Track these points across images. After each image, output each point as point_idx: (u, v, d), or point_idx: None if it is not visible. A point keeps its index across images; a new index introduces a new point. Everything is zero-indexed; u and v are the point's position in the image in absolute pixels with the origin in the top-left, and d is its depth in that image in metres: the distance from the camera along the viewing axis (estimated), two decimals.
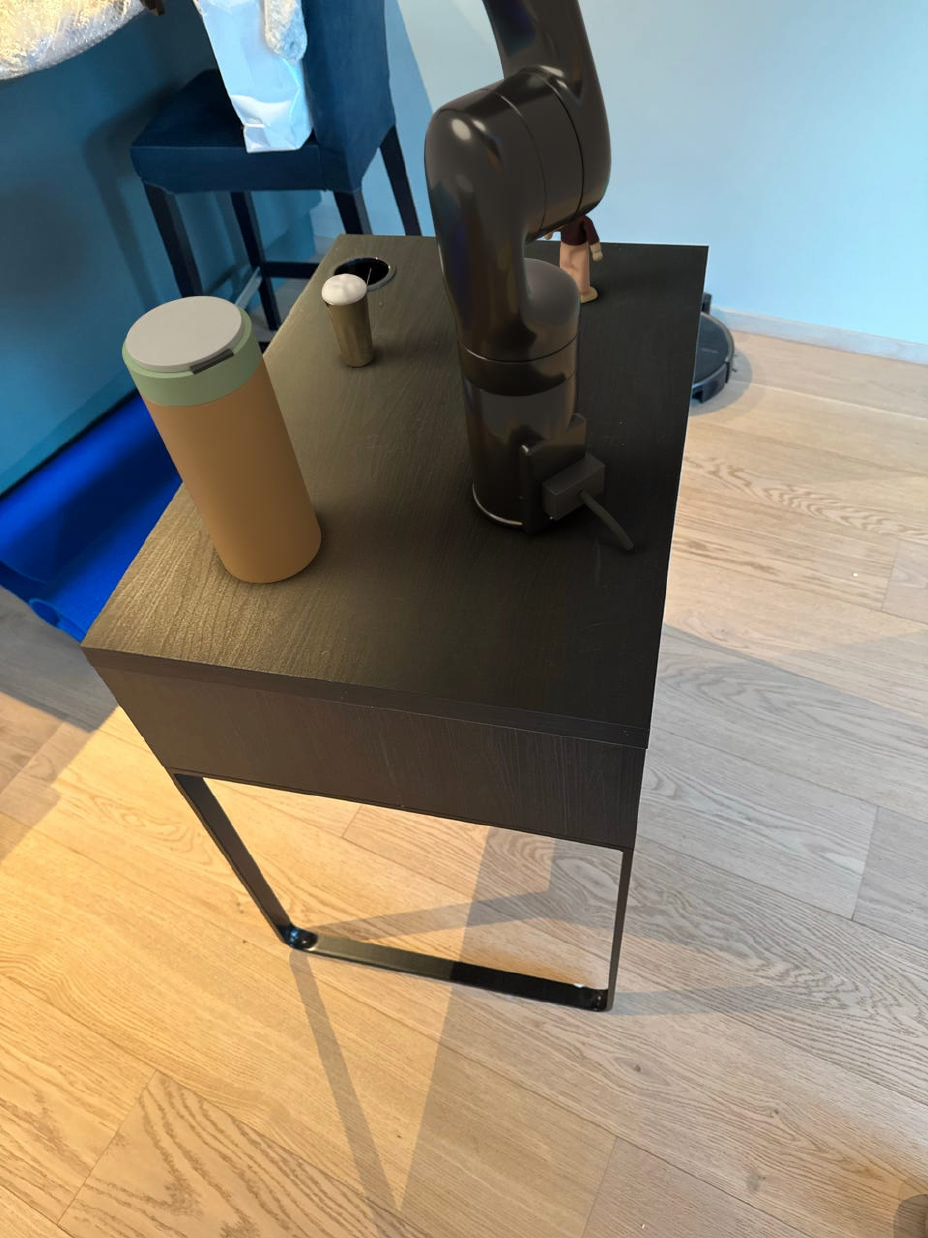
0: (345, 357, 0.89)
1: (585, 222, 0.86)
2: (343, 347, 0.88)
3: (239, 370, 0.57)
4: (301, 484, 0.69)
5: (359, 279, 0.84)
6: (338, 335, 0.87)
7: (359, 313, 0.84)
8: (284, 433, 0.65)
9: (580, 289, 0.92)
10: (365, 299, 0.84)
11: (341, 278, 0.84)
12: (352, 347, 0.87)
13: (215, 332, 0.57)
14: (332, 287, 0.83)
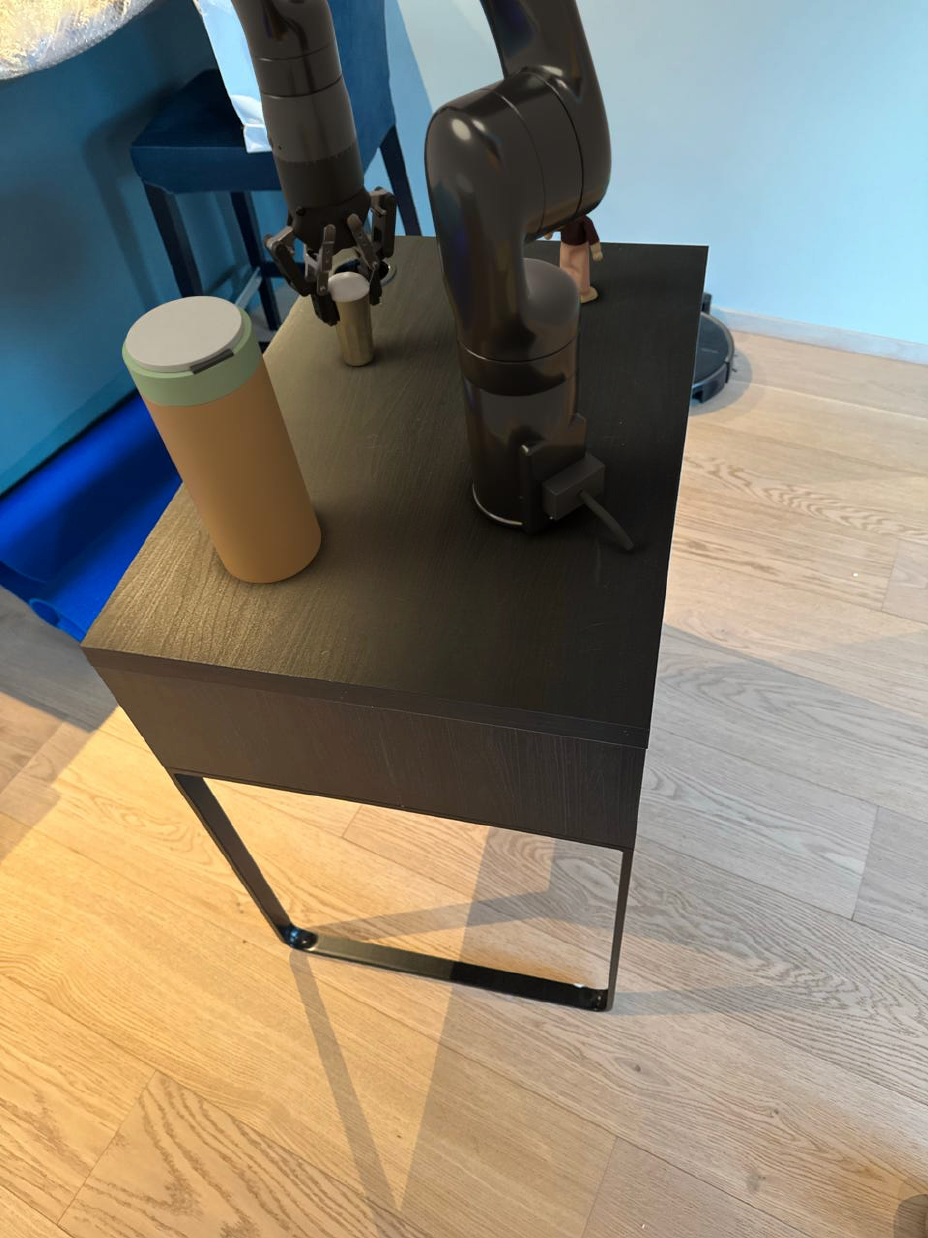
0: (345, 355, 0.89)
1: (585, 222, 0.86)
2: (344, 345, 0.88)
3: (239, 370, 0.57)
4: (301, 484, 0.69)
5: (362, 277, 0.84)
6: (339, 333, 0.87)
7: (361, 311, 0.84)
8: (284, 433, 0.65)
9: (580, 289, 0.92)
10: (368, 297, 0.84)
11: (344, 276, 0.84)
12: (353, 345, 0.87)
13: (215, 332, 0.57)
14: (335, 283, 0.83)
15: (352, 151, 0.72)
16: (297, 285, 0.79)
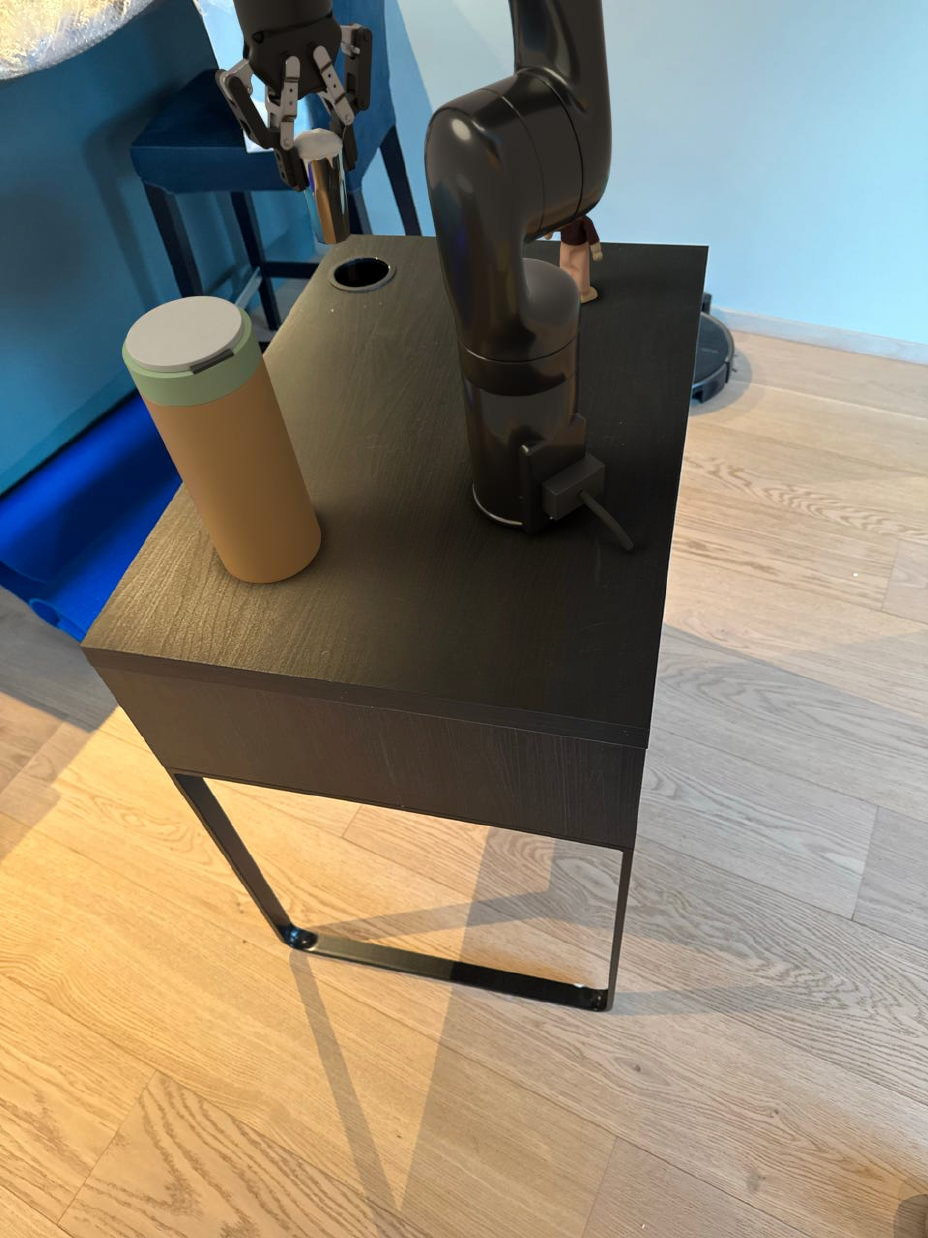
0: (317, 232, 0.78)
1: (585, 222, 0.86)
2: (315, 218, 0.77)
3: (239, 370, 0.57)
4: (301, 484, 0.69)
5: (334, 134, 0.73)
6: (309, 202, 0.76)
7: (333, 173, 0.73)
8: (284, 433, 0.65)
9: (580, 289, 0.92)
10: (340, 157, 0.73)
11: (313, 132, 0.73)
12: (325, 218, 0.76)
13: (215, 332, 0.57)
14: (303, 138, 0.72)
15: None
16: (257, 133, 0.69)
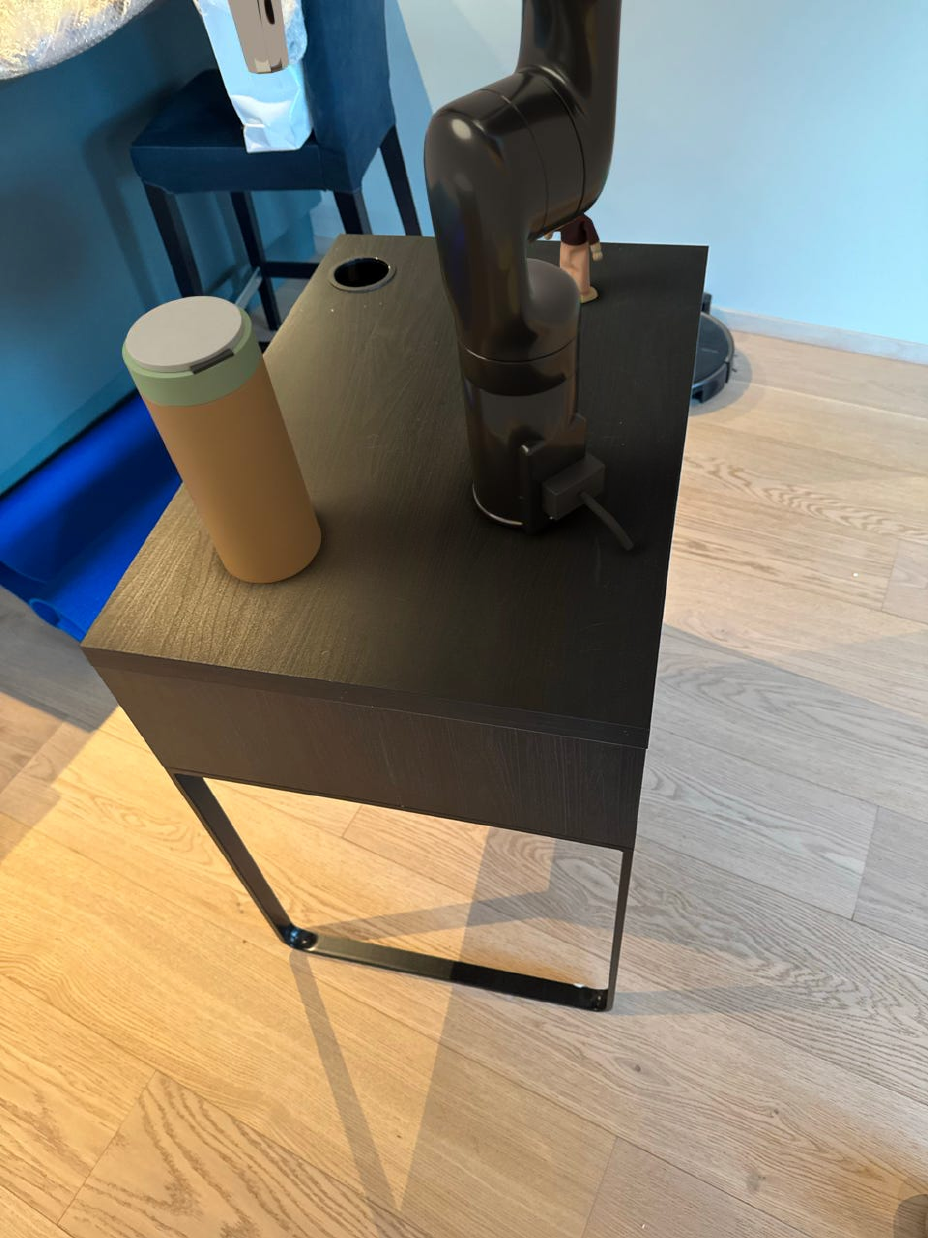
0: (247, 57, 0.62)
1: (585, 222, 0.86)
2: (242, 37, 0.61)
3: (239, 370, 0.57)
4: (301, 484, 0.69)
5: None
6: (234, 14, 0.60)
7: None
8: (284, 433, 0.65)
9: (580, 289, 0.92)
10: None
11: None
12: (255, 34, 0.61)
13: (215, 332, 0.57)
14: None
15: None
16: None
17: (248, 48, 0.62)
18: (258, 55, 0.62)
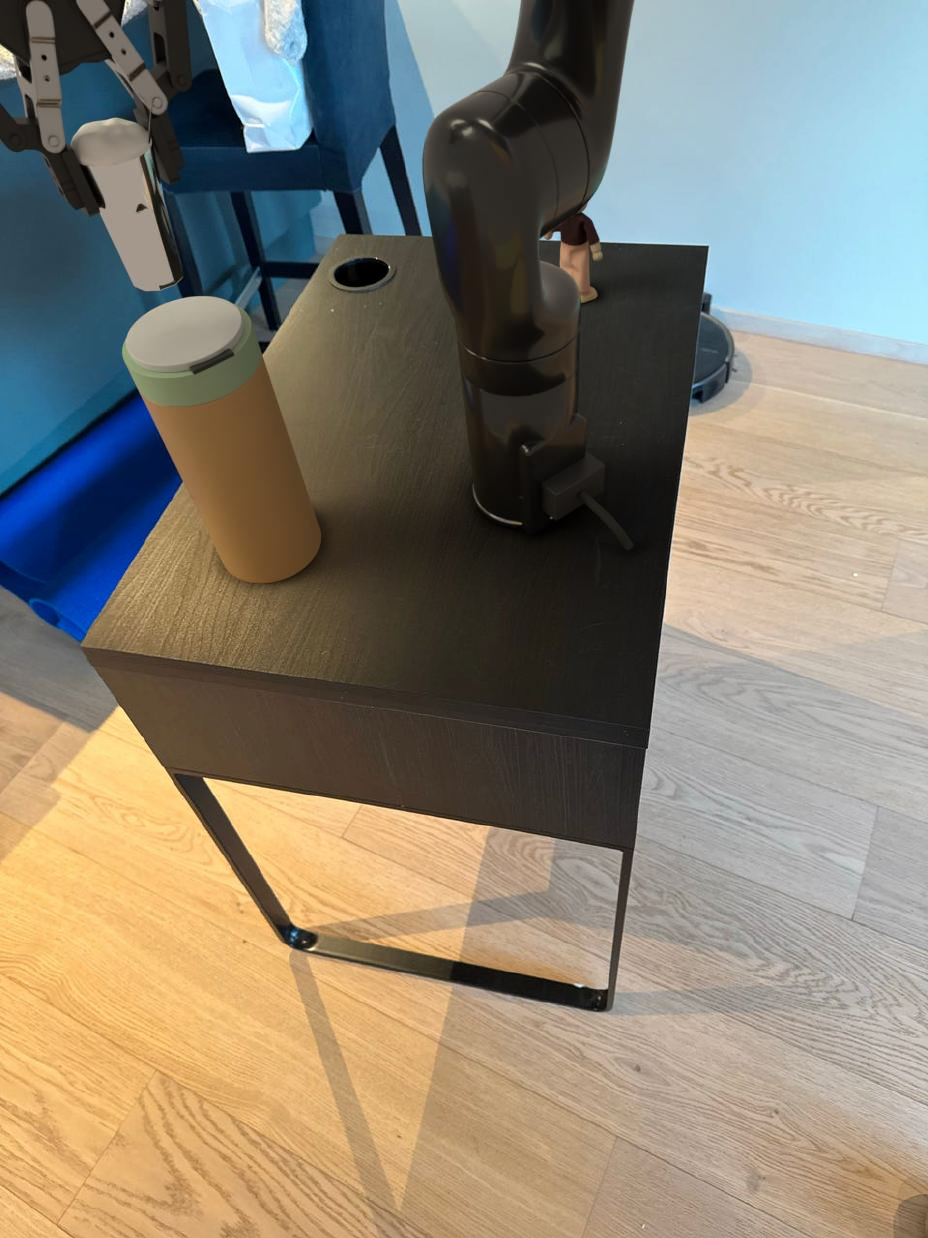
0: (130, 273, 0.52)
1: (585, 222, 0.86)
2: (123, 254, 0.51)
3: (239, 370, 0.57)
4: (301, 484, 0.69)
5: (138, 126, 0.47)
6: (110, 231, 0.50)
7: (137, 186, 0.48)
8: (284, 433, 0.65)
9: (580, 289, 0.92)
10: (148, 162, 0.48)
11: (106, 124, 0.47)
12: (136, 253, 0.51)
13: (215, 332, 0.57)
14: (84, 134, 0.46)
15: None
16: None
17: (130, 265, 0.52)
18: (143, 273, 0.52)
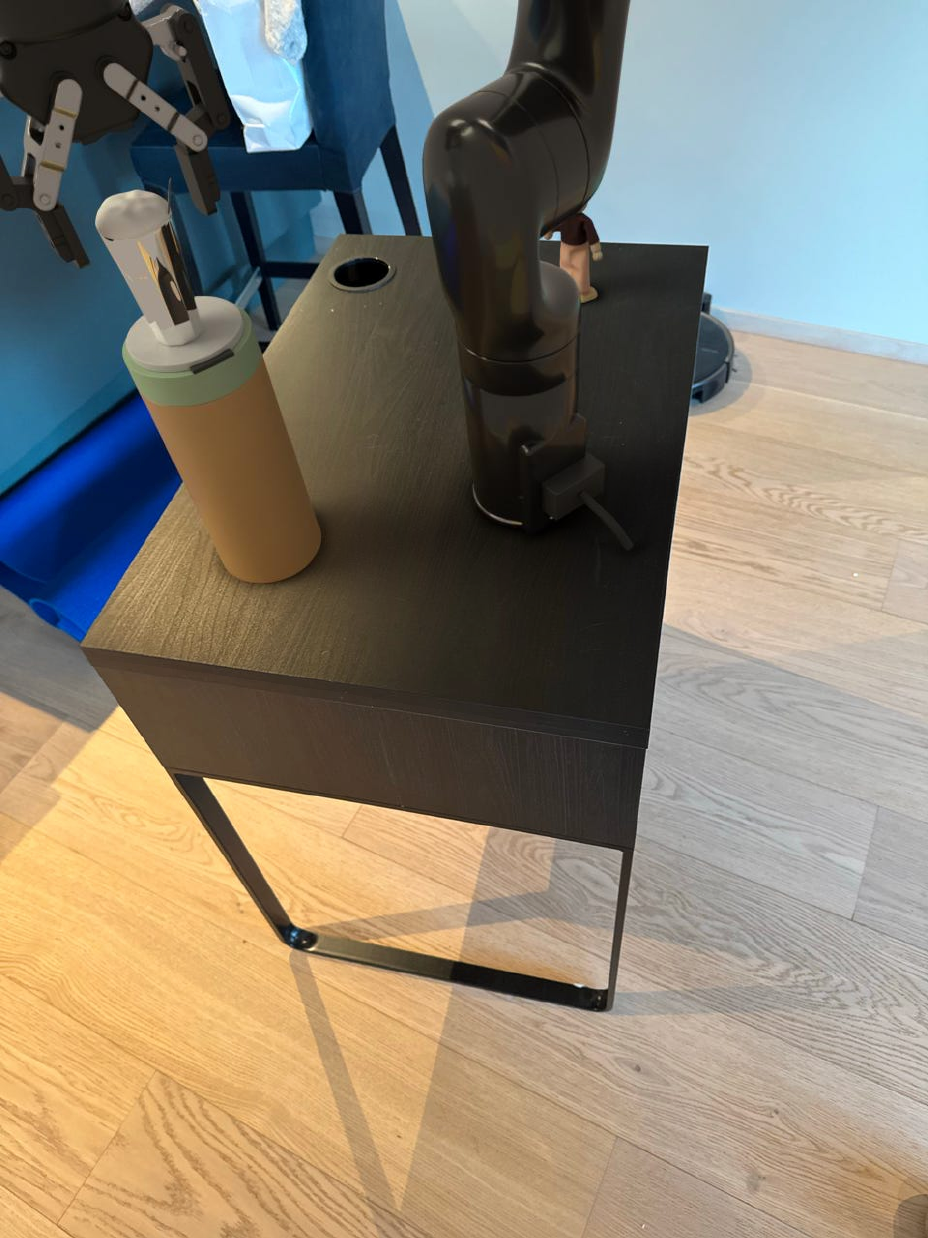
0: (154, 330, 0.56)
1: (585, 222, 0.86)
2: (147, 314, 0.54)
3: (239, 370, 0.57)
4: (301, 484, 0.69)
5: (158, 198, 0.50)
6: (135, 294, 0.53)
7: (159, 255, 0.51)
8: (284, 433, 0.65)
9: (580, 289, 0.92)
10: (169, 232, 0.51)
11: (128, 197, 0.50)
12: (159, 313, 0.54)
13: (215, 332, 0.57)
14: (108, 209, 0.49)
15: None
16: None
17: (154, 324, 0.55)
18: (166, 330, 0.55)
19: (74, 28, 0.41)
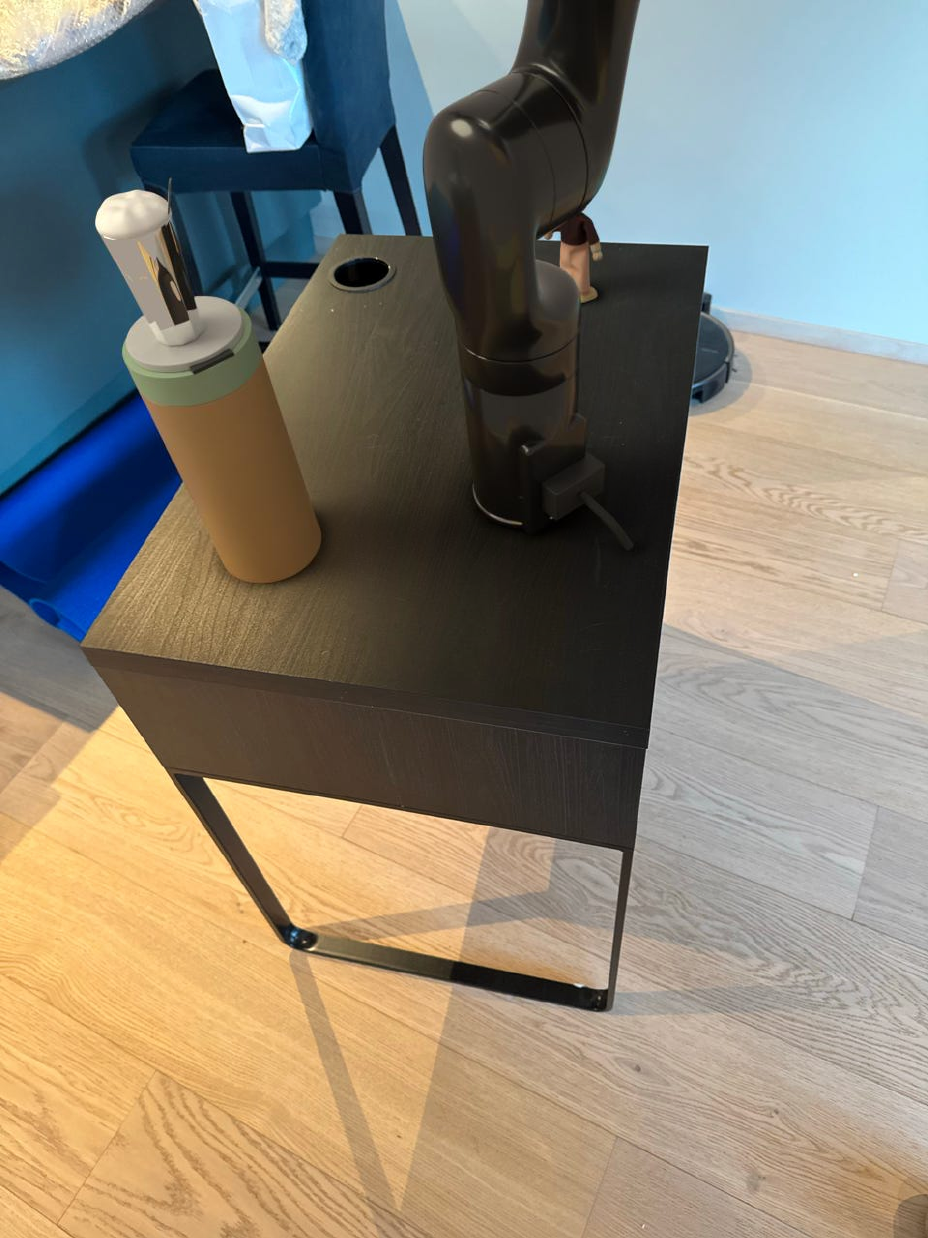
0: (154, 330, 0.56)
1: (585, 222, 0.86)
2: (147, 314, 0.54)
3: (239, 370, 0.57)
4: (301, 484, 0.69)
5: (158, 198, 0.50)
6: (135, 294, 0.53)
7: (159, 255, 0.51)
8: (284, 433, 0.65)
9: (580, 289, 0.92)
10: (169, 232, 0.51)
11: (128, 197, 0.50)
12: (159, 313, 0.54)
13: (215, 332, 0.57)
14: (108, 209, 0.49)
15: None
16: None
17: (154, 324, 0.55)
18: (166, 330, 0.55)
19: None
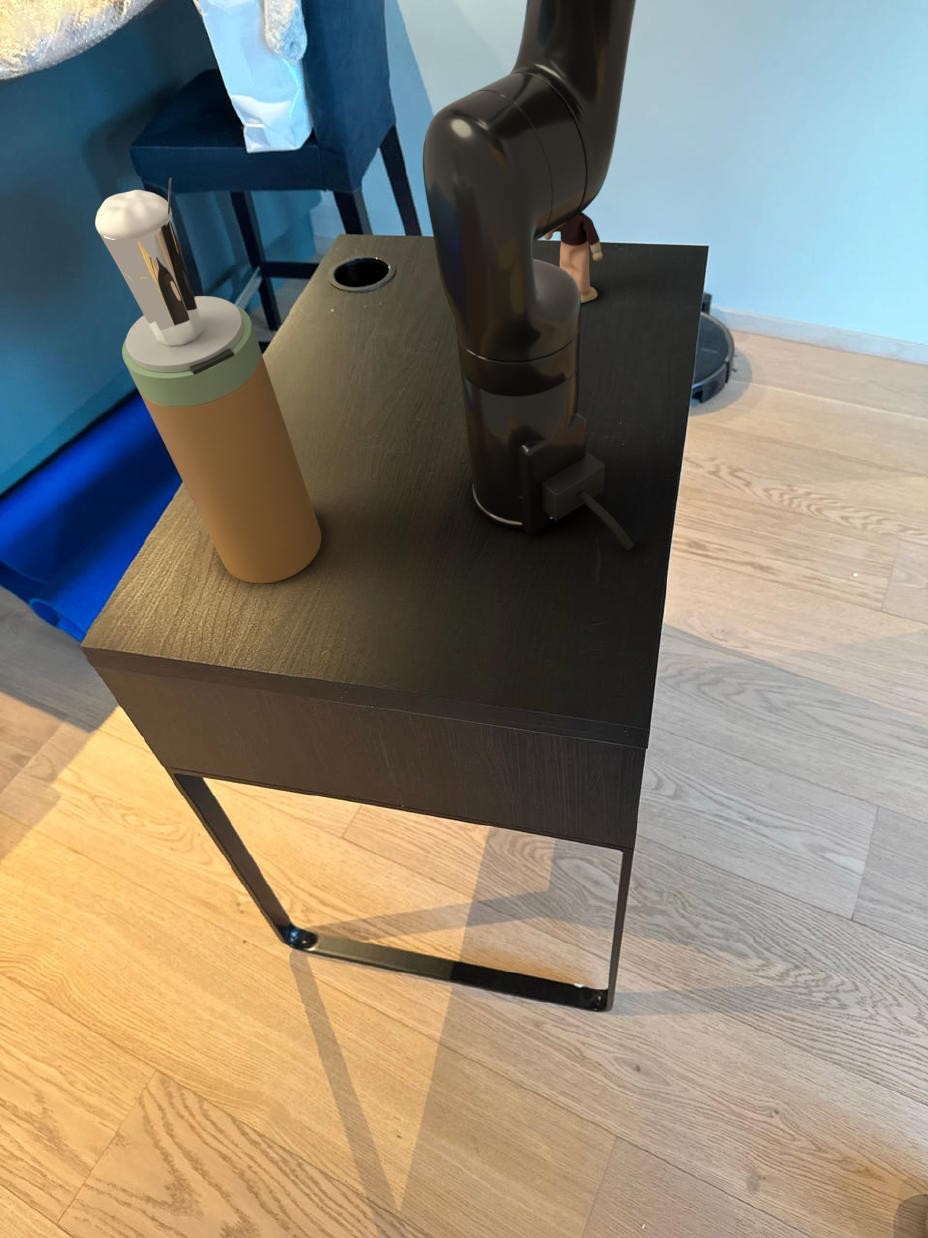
0: (154, 330, 0.56)
1: (585, 222, 0.86)
2: (147, 314, 0.54)
3: (239, 370, 0.57)
4: (301, 484, 0.69)
5: (158, 198, 0.50)
6: (135, 294, 0.53)
7: (159, 255, 0.51)
8: (284, 433, 0.65)
9: (580, 289, 0.92)
10: (169, 232, 0.51)
11: (128, 197, 0.50)
12: (159, 313, 0.54)
13: (215, 332, 0.57)
14: (108, 209, 0.49)
15: None
16: None
17: (154, 324, 0.55)
18: (166, 330, 0.55)
19: None
